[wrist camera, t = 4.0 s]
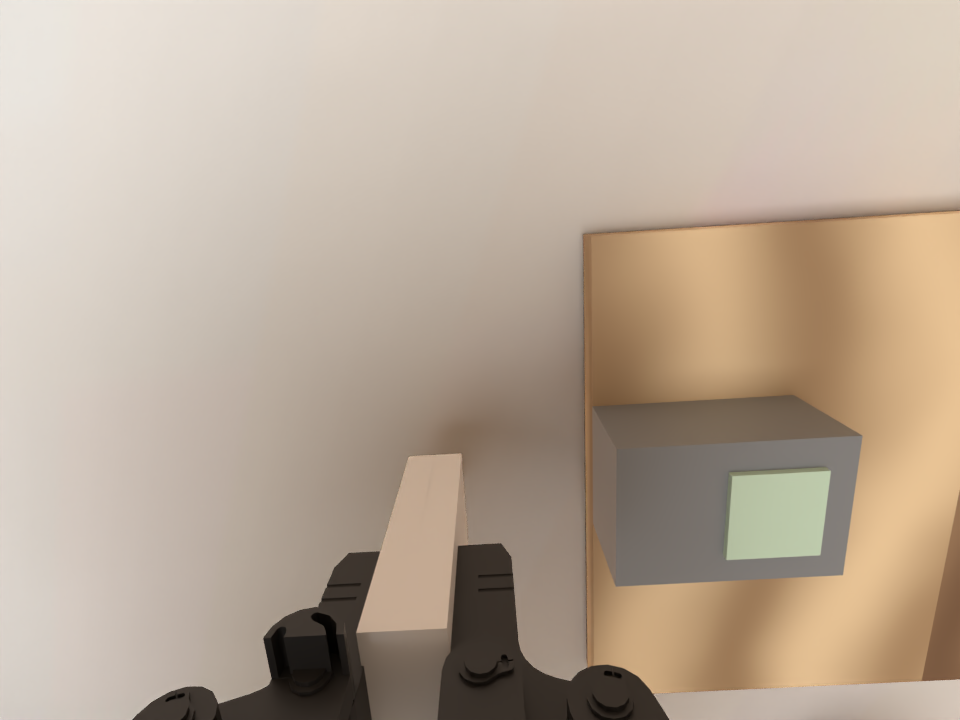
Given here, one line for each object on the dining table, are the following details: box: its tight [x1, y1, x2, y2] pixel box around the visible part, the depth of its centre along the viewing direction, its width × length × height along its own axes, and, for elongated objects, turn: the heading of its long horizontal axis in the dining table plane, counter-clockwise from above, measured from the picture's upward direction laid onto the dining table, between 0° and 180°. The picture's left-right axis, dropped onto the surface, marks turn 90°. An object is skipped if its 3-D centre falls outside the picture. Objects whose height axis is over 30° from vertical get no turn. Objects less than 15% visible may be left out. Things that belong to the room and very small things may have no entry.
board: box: [583, 211, 960, 694], centre depth 17 cm, size 18×16×1 cm
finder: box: [592, 395, 863, 587], centre depth 15 cm, size 6×4×3 cm, turn 94°
